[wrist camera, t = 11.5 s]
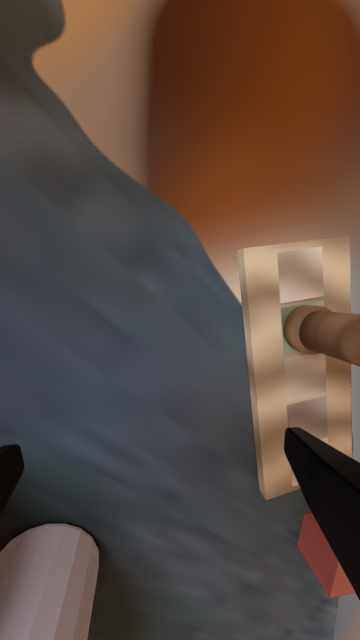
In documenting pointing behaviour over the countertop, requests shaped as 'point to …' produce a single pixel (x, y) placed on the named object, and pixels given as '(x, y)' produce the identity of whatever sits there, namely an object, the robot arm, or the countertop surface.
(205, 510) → the countertop surface
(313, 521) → the red cube
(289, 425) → the track board
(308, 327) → the pawn
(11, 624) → the soap bottle
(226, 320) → the countertop surface
